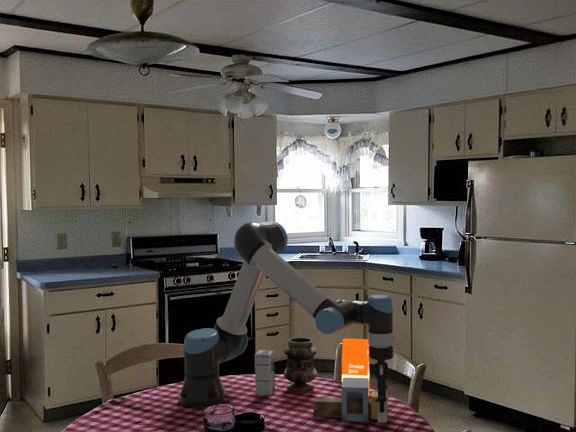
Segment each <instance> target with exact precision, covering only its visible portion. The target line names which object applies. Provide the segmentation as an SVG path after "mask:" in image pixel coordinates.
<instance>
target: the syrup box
mask: <svg viewBox="0 0 576 432" xmlns="http://www.w3.org/2000/svg"><path fill="white" fill-rule="evenodd" d="M254 372H255V373H254V375H255V379H254V380H255V381H254V382H255V394H256V395H259V396H272V395H273V393H275V391H276V383H275V380H276V379H275V351H274V350H270V349H260V350H258V351H257V352H256V353H255V354H254Z"/></svg>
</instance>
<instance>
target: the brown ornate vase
mask: <svg viewBox="0 0 576 432" xmlns="http://www.w3.org/2000/svg"><path fill="white" fill-rule="evenodd" d="M283 352H284V355H285V356H286V357H287V359H286V360H287V363H286V367H285V369H284V370H283V376H284V378H285V379H286V380H287V381H288V382H290V383H292V384H290V385H288V386H287V387H286V390H287V391H288V392H289V393H293V394H308V393H311V392H314V390H315V387H314V386H313V385H311V384H310V382H312V381H314V380H315V379H316V378H317V376H318V371H317V370H316V368H315V365H314V357H315V356H316V354H317V353H318V349H317V347H316V345H315V344H313V339H311V338H310V337H307V336H306V337H305V336H295V337H291V338H289V339H288V343H287V345H286V346H285V347H284V348H283Z"/></svg>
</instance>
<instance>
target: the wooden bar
mask: <svg viewBox="0 0 576 432" xmlns="http://www.w3.org/2000/svg"><path fill="white" fill-rule="evenodd" d="M312 402H313V404H312V405H313V418H314V417H319V418H321V417H322V418H326V417H327V418H342V397H341V398H339V397H338V398H335V397H334V398H333V397H330V398H329V397H314V398H313V400H312ZM347 413H363V399H347ZM368 419H372V418H371V398H369V399H368Z"/></svg>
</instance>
